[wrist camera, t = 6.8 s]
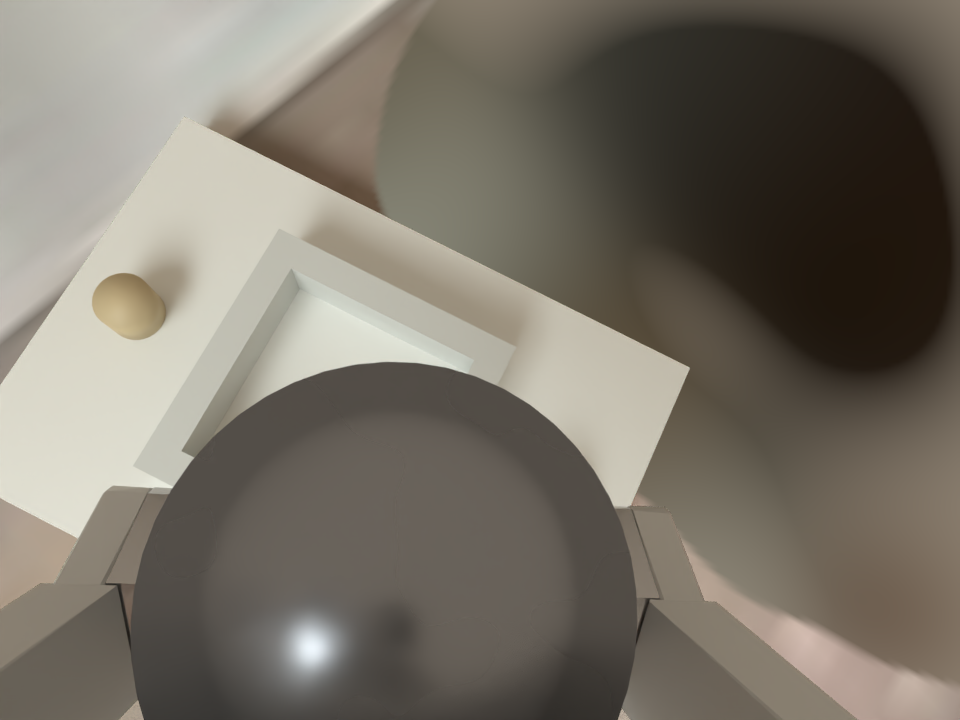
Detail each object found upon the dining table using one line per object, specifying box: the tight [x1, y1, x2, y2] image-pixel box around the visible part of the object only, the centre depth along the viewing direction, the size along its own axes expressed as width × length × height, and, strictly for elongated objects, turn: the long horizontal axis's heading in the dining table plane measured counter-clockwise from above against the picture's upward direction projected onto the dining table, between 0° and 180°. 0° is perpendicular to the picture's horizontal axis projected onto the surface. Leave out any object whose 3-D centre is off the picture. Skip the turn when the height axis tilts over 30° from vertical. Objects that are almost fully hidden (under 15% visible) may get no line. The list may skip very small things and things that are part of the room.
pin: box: [130, 362, 638, 720], centre depth 11 cm, size 4×4×9 cm
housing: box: [0, 117, 690, 538], centre depth 26 cm, size 20×14×4 cm
